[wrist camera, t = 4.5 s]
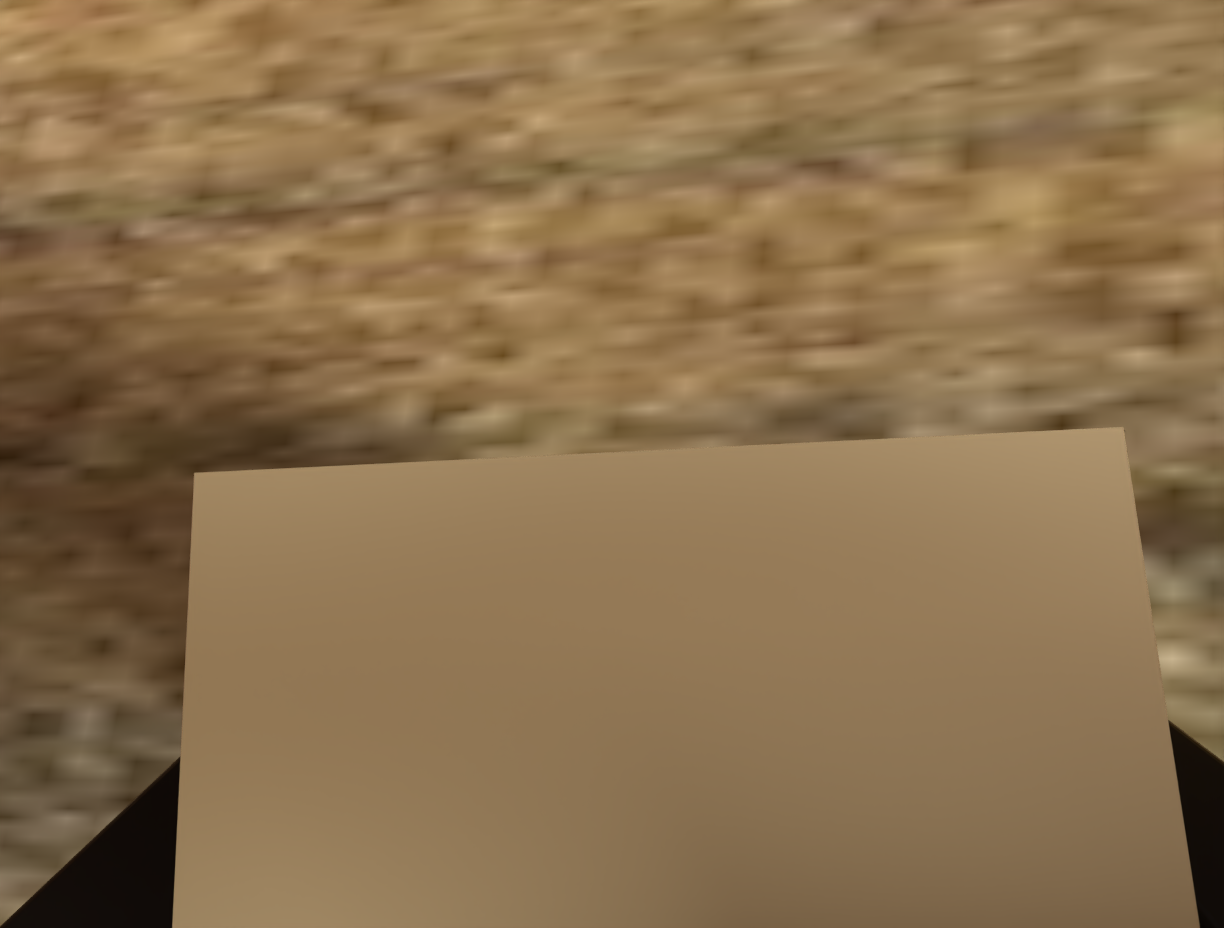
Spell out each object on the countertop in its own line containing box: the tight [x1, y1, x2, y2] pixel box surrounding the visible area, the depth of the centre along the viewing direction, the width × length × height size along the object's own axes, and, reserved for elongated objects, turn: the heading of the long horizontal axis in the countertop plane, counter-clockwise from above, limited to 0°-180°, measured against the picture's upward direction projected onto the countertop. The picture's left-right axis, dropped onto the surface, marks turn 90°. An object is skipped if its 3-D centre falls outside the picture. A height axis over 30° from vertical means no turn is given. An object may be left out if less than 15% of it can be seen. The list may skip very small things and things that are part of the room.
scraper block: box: [172, 427, 1200, 928], centre depth 10 cm, size 4×4×12 cm
